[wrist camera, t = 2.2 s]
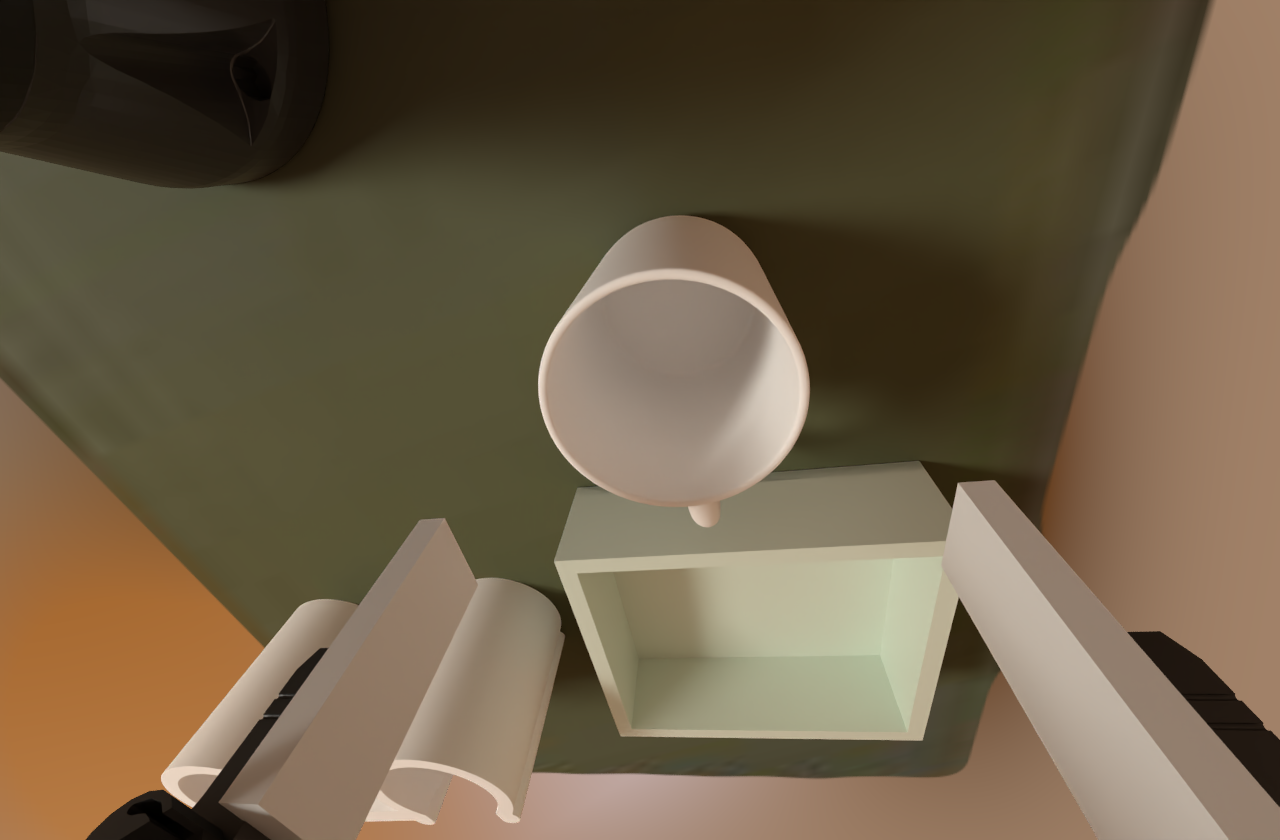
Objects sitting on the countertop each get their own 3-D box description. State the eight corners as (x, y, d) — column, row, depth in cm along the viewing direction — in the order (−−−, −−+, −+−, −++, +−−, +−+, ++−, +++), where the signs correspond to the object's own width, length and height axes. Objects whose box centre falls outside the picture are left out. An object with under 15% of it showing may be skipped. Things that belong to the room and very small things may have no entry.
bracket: (528, 562, 34) (459, 748, 24) (579, 643, 39) (538, 827, 29) (269, 607, 40) (124, 770, 30) (339, 672, 45) (234, 833, 35)
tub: (577, 487, 30) (553, 561, 25) (919, 460, 26) (973, 539, 21) (629, 656, 39) (620, 736, 34) (889, 652, 36) (922, 740, 30)
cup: (752, 189, 20) (798, 234, 12) (781, 423, 26) (825, 567, 17) (572, 237, 22) (495, 306, 13) (636, 446, 28) (612, 588, 19)
